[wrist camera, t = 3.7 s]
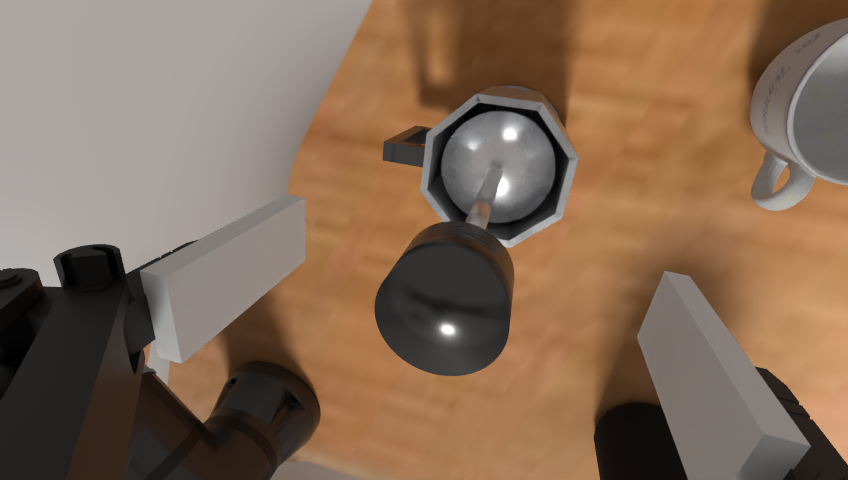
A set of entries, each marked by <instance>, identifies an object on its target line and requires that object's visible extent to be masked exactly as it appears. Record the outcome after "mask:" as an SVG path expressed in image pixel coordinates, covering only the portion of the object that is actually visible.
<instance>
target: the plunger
mask: <svg viewBox="0 0 848 480" xmlns="http://www.w3.org/2000/svg"><path fill="white" fill-rule="evenodd" d="M554 176H555V157H554V152H553V148H552V145H551V143H550V141H549V139H548V137H547V135H546V134H545V133H544V131H543V130H542V129H541V128H540V127H539V126H538V125H537V124H536V123H535V122H534V121H532V120H531V119H529V118H527V117H526V116H524V115H521V114H518V113H516V112H511V111H503V110H498V111H489V112H485V113H482V114H479V115H477V116H475V117H473V118H471V119H469V120H468V121H466V122H465V123H464V124H463V125H461V126H460V127H459V128H458V129H457V130H456V131H455V132H454V134H453V135H452V136H451V138H450V139H449V141H448V143H447V145H446V147H445V150H444V153H443V158H442V178H443V182H444V185H445V188H446V190H447V192H448V194H449V196H450V198H451V199H452V201H453V202H454V203H455V204H456V205H457V206H458V207H459V208H460V209H461V210H462V211H464V212H465V213H466V214H468V217H467V219H466V221H465V222H460V221H448V222H441V223H437V224H434V225H432V226H429V227H428V228H426V229H424V230H423V231H421V232H420V233H419V234H418V235H417V236H416V237H415V238H414V239H413V240H412V242H411V243H410V244H409V246H408V247H407V249H406V250H405V252H404V253H403V254H402V256H401V257H400V259H399V260H398V261H397V263H396V264H395V266H394V267H393V268H392V270H391V271H390V273H389V274H388V276H387V277H386V278H385V280H384V281H383V283H382V284H381V286H380V288H379V290H378V292H377V296H376V300H375V317H376V322H377V325H378V328H379V331H380V333H381V335H382V337H383V338H384V340H385V341H386V343H387V344H388V345H389V347H390V348H391V349H392V350H393V351H394V352H395V353H396V354H397V355H398V356H399V357H400V358H402V359H403V360H404V361H406V362H407V363H409V364H411V365H412V366H414V367H416V368H418V369H421V370H423V371H426V372H429V373H433V374H437V375H444V376H460V375H466V374H471V373H474V372H477V371H479V370H481V369H483V368H485V367H487V366H488V365H490V364H491V363H492V362H493V361H494V360H495V359H496V358H497V357H498V356H499V355H500V353H501V352H502V351H503V349H504V347H505V345H506V342H507V339H508V334H509V326H510V317H511V307H512V297H513V287H514V267H513V263H512V260H511V258H510V255H509V253H508V251H507V250H506V248H505V247H504V245H503V244H502V243H501V242H500V241H499V240H498V239H497V238H496V237H495V236H494V235H492V234H491V233H490V232H488V231H487V230H486V226H487V223H488V222H492V223H503V222H510V221H514V220H517V219H520V218H522V217H524V216H526V215H528V214H529V213H531V212H532V211H534V210H535V209H536V208H537V207H538V206H539V205H540V204H541V203H542V202H543V201H544V199H545V198H546V196H547V195H548V193H549V191H550V189H551V187H552V184H553V181H554Z"/></svg>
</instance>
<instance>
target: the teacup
mask: <svg viewBox="0 0 848 480" xmlns="http://www.w3.org/2000/svg"><path fill="white" fill-rule="evenodd" d="M750 121H751V126H752V129H753V132H754V134H755V137H756V138H757V140H758V141H759V142H760V144H761V145H762V146H763V147H764V148H765V149H766V150H767V152H766V154H765V156H764V163H763V164H762V166H761V168H760V170H759V172H758V174H757V176H756V178H755V180H754V183H753V186H752V189H751V196H752V199H753V201H754V202H755V203H756V204H757V205H759V206H761V207H763V208H765V209H768V210H773V211H779V210H784V209H787V208H789V207H792V206H794V205H795V204H797V203H798V202H799V201H801V200H802V199H803V198H804V197H805V196H806V195H807V194H808V192H809V191H810V189H811V187H812V185H813V183H814V181H815V178H816V177H819V178H821V179H824V180H826V181H829V182H833V183H837V184H842V185H848V18H844V19H841V20H837V21H834V22H831V23H829V24H826V25H823V26H821V27H819V28H817V29H815V30H813V31H811V32H809V33H807V34H805V35H803V36H802V37H800V38H799V39H797V40H796V41H794V42H793V43H791V44H790V45H789V46H788V47H786V48H785V49H784V50H783V51H782V52H781V53H779V54H778V55H777V57H776V58H775V59H774V60H773V61H772V62H771V63H770V64H769V66H768V67H767V68H766V70H765V71H764V72H763V74H762V75H761V77H760V79H759V81H758V83H757V85H756V87H755V89H754V92H753V95H752V99H751V104H750ZM786 165H788V168H789V170H790V177H789V180H788V181H787V183H786V184H785V185H784V186H783V187H782V188H781V189H780V190H778V191H777V192H775V193H773V189H774V186H775V184H776V182H777V180H778V178H779V176H780V174H781V173H782V171H783V169H784V168H785V166H786Z"/></svg>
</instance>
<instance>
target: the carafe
mask: <svg viewBox="0 0 848 480" xmlns="http://www.w3.org/2000/svg"><path fill="white" fill-rule="evenodd" d="M498 110H503V111H511V112H516V113H518V114H521V115H524V116H526V117H527V118H529V119H531V120H532V121H534V122H535V123H536V124H537V125H538V126H539V127H540V128H541V129H542V130H543V131H544V133H545V134H546V135H547V137H548V139H549V141H550V143H551V145H552V148H553V152H554V157H555V176H554V181H553V184H552V187H551V189H550V191H549V193H548V195H547V196H546V198H545V199H544V201H543V202H542V203H541V204H540V205H539V206H538V207H537V208H536V209H535V210H534V211H532V212H531V213H529V214H528V215H526V216H524V217H522V218H520V219H517V220H514V221H510V222H503V223H492V222H488V223H487V226H486V230H487V231H488V232H490V233H491V234H492V235H494V236H495V237H496V238H497V239H498V240H499V241H500V242H501V243H502V244H503V245H504V247H509V248H511V247H512V246H514V245H516V244H518V243H519V242H521V241H523V240H525V239H526V238H528V237H530V236H532V235H533V234H535V233H537V232H539V231H540V230H542V229H544V228H546V227H547V226H549V225H551V224H553V223H554V222H556V221H558V220H560V219H561V218H562V217H563V213H564V210H565V206H566V202H567V199H568V195H569V192H570V188H571V184H572V181H573V177H574V173H575V170H576V166H577V162H578V159H579V157H578V155H577V153H576V150H575V148H574V146H573V144H572V142H571V140H570V138H569V135H568V133H567V131H566V129H565V127H564V126H563V124H562V122H561V120H560V117H559V115H558V113H557V111H556V109H555V108H554V107H553V105H552V104H551V103H550V102H549V101H548V100H547V99H546V98H545V97H544V95H543V94H542V92H541V91H537V90H532V89H529V88H526V87H522V86H516V85H506V86H499V85H494V86H492V87H490V88H488V89H485V90H483V91H481V92H479V93H477V94H475V95H474V96H473V97H472V98H470V99H469V100H468V101H467V102H465V103H464V104H463V105H462V106H460V107H459V108H458V109H457V110H455V111H454V112H453V113H451V114H450V115H449V116H448V117H446V118H445V119H444V120H443V121H441V122H440V123H439V124H438V125H436V126H435V127H434V128H428V127H422V126H414V127H412V128H410V129H408V130H406V131H404V132H402V133H400V134H398V135H396V136H394V137H392V138H390V139H388V140H386V141H384V149H383V160H384V161H390V162H395V163H401V164H407V165H412V166H418V167H423V171H422V180H421V189H420V192H421V193H422V194H423V196H424V197H425V198H426V200H427V201H428V202H429V204H430V205H431V206H432V208H433V209H434V210H435V212H436V213H437V214H438V216H439V217H440V218H441V220H442V221H443V222H448V221H460V222H465V221H466V219H467V217H468V214H466V213H465V212H464V211H462V210H461V209H460V208H459V207H458V206H457V205H456V204H455V203H454V202H453V201H452V199H451V198H450V196H449V194H448V192H447V190H446V188H445V185H444V182H443V178H442V158H443V153H444V150H445V147H446V145H447V143H448V141H449V139H450V138H451V136H452V135H453V134H454V132H455V131H456V130H457V129H458V128H459V127H460V126H461V125H463V124H464V123H465V122H466V121H468V120H469V119H471V118H473V117H475V116H477V115H479V114H482V113H485V112H489V111H498ZM421 144H425V145H421Z"/></svg>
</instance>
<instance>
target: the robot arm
mask: <svg viewBox="0 0 848 480" xmlns="http://www.w3.org/2000/svg"><path fill="white" fill-rule="evenodd" d="M305 260H306V242H305V198H303V197H298V196H293V195H288V194H287V195H285V196H283V197H281V198H279V199H277V200H275V201H273V202H271V203H269V204H267V205H266V206H264V207H262V208H260V209H258V210H256V211H254V212H252V213H250V214H248V215H246V216H244V217H242V218H240V219H238V220H237V221H235V222H233V223H231V224H229V225H227V226H225V227H223V228H221V229H219V230H217V231H215V232H213V233H211V234H210V235H208V236H206V237H204V238H202V239H200V240H196V241H192V242H189V243H186V244H184V245H182V246H180V247H178V248H176V249H174V250H173V252H168V253H166V254H164V255H162V257H161V258H160V257H159V258H156V259H154V260H152V261H151V262H148V263H146V264H145V265H142V266H141V267H139V268H137V269H135V270H133V271H131V272H129V273H127V274H125V270H124V266H123V262H122V257H121V253H120V249H119V248H117V247H115V246H112V245H106V244H96V245H95V244H94V245H86V246H80V247H76V248H73V249H69V250H67V251H65V252H62V253H60V254H58V255H57V256H56V257H55V258H54V259H53V261H54V264H55V267H56V270H57V273H58V276H59V279H60V282H61V286H62V287H43V286H42V283H41V280H40V277H39V274H38V272H37V271H35V270H33V269H25V268H17V269H11V268H9V269H3V270H2V271H1V270H0V480H270V479H271V477H272V475H273V474H274V472H275V471H276V469H277V468H278V467H279V466H280V465H281V464H282V463H283V462H285V461H286V460H287V459H288V458H289V457H291V456H292V455H293V454H294V453H295V452H296V451H298V450H299V449H300V448H301V447H302V446H303V445H305V444H306V443H307V442H308V441H309V439H310V438H311V437H312V435H313V433H314V432H315V430H316V428H317V427H318V424H319V421H320V410H319V406H318V403H317V400H316V398H315V397H314V395H313V393H312V392H311V390H310V389H309V388H308V387H307V385H306V384H305V383H304V382H303V381H302V380H300V379H299V378H298V377H297V376H296V375H294V374H293V373H291V372H290V371H288V370H286V369H284V368H282V367H280V366H277V365H274V364H271V363H266V362H252V363H248V364H245V365H243V366H241V367H240V368H239V369H238V370H237V371H236V372H235V373H234V374H233V375H232V376H231V377H230V378H229V379H228V381H227V382H226V384H225V386H224V388H223V390H222V392H221V394H220V396H219V398H218V400H217V402H216V404H215V406H214V408H213V410H212V413H211V415H210V417H209V418H208V419H207V420H206V421H205V422H204V423H202V422H201V421H200V420H199V419H198V418H197V417H196V416H195V415H194V414H193V413H192V412H191V411H190V410H189V409H188V408H187V406H186V405H185V404H184V403H183V402H182V401H181V400H180V399H179V398H178V397H177V396H176V395H175V394H174V393H173V392H172V391H171V390H170V389H169V388H168V387H167V386H166V384H165V383H164V382H163V381H162V380H161V379H160V378H159V377H158V376H157V375H156V371H155V370H154V369H150V368H148V367H147V366H146V365H145V364H144V363H145V355H144V350H143V348H144V347H145V346H146V345H148V344H149V343H151V342H152V341H153V340H155V344H156V348H157V353H158V356H159V357H160V358H163V359H167V360H170V361H173V362H176V363H180V364H183V363H184V362H185V361H186V360H187V359H189V358H190V357H191V356H192V355H193V354H194V353H196V352H197V351H198V350H199V349H200V348H202V347H203V346H204V345H205V344H206V343H208V342H209V341H210V340H211V339H212V338H214V337H215V336H216V335H217V334H218V333H219V332H221V331H222V330H223V329H224V328H225V327H227V326H228V325H229V324H230V323H231V322H233V321H234V320H235V319H236V318H237V317H238V316H240V315H241V314H242V313H243V312H244V311H246V310H247V309H248V308H249V307H250V306H252V305H253V304H254V303H255V302H256V301H257V300H259V299H260V298H261V297H262V296H263V295H265V294H266V293H267V292H268V291H269V290H271V289H272V288H273V287H274V286H275V285H276V284H278V283H279V282H280V281H281V280H282V279H284V278H285V277H286V276H287V275H288V274H290V273H291V272H292V271H293V270H294V269H295V268H297V267H298V266H299V265H300V264H301V263H303V262H304V261H305ZM637 339H638V342H639V345H640V348H641V350H642V353H643V356H644V359H645V361H646V364H647V367H648V370H649V372H650V375H651V378H652V381H653V384H654V386H655V389H656V392H657V395H658V397H659V400H660V403H661V406H662V409H663V411H664V414H665V417H666V420H667V422H668V425H669V428H670V431H671V433H672V436H673V439H674V442H675V445H676V447H677V450H678V453H679V456H680V458H681V461H682V464H683V467H684V470H685V472H686V475H687V478H688V480H848V465H847V463H846V462H845V461H844V460H843V458H842V457H841V456H840V454H839V453H838V452H837V450H836V449H835V448H834V447H833V445H832V444H831V443H830V441H829V440H828V439H827V438H826V436H825V435H824V434H823V432H822V431H821V430H820V428H819V427H818V426H817V425H816V423H815V422H814V421H813V420H811V419H810V416H809V414H808V413H807V412H806V410H805V409H804V408H803V406H801V405H799V401H798V400H797V399H796V397H795V396H794V395H793V393H792V392H791V391H790V390H789V388H788V387H787V386H786V385H785V384H784V383H783V382H781V381H780V380H779V379H778V378H777V377H775V376H774V375H773V374H772V373H770V372H769V371H768V370H767V369H763V368H759V367H755V366H754V365H753V364H752V363H751V361H750V360H749V358H748V357H747V356H746V354H745V353H744V351H743V350H742V349H741V347H740V346H739V344H738V343H737V342H736V340H735V339H734V337H733V336H732V335H731V333H730V332H729V330H728V329H727V328H726V326H725V325H724V323H723V322H722V321H721V319H720V318H719V316H718V315H717V314H716V312H715V311H714V309H713V308H712V307H711V305H710V304H709V302H708V301H707V300H706V298H705V297H704V295H703V294H702V293H701V291H700V290H699V288H698V287H697V286H696V284H695V283H694V281H693V280H692V279H691V277H690V276H688V275H683V274H678V273H673V272H668V271H664V273H663V275H662V278H661V280H660V283H659V285H658V287H657V290H656V292H655V295H654V297H653V299H652V302H651V304H650V307H649V309H648V311H647V314H646V316H645V319H644V321H643V323H642V326H641V328H640V331H639V333H638V335H637Z"/></svg>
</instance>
